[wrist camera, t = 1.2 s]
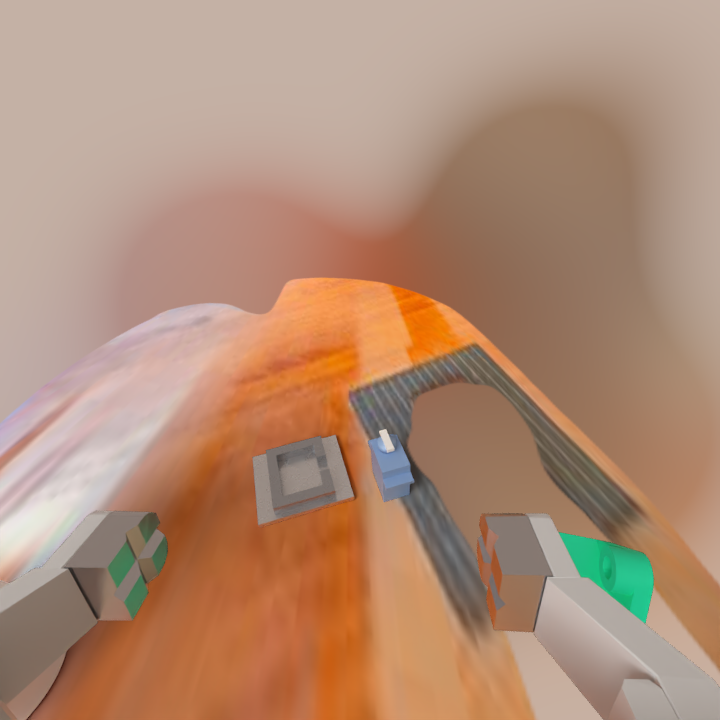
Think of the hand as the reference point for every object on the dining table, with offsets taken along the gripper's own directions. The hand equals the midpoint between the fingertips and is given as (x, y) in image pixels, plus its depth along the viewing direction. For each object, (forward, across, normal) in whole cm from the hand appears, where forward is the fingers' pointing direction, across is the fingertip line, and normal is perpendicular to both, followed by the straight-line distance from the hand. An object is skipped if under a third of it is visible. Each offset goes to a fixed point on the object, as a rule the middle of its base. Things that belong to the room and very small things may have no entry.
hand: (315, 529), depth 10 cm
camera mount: (+24, +24, -38) cm, 51 cm away
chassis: (+39, -12, -34) cm, 53 cm away
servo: (+39, +2, -34) cm, 52 cm away
